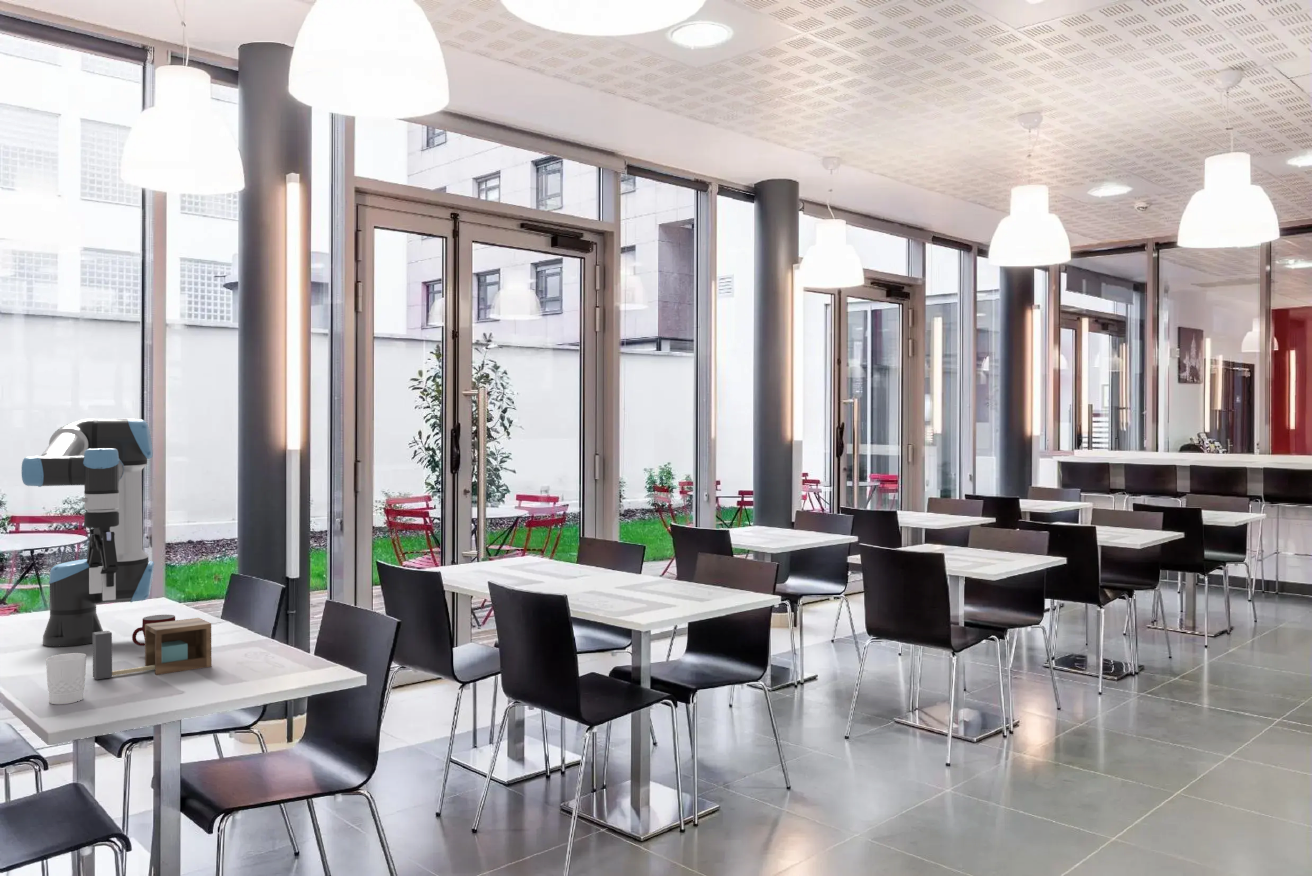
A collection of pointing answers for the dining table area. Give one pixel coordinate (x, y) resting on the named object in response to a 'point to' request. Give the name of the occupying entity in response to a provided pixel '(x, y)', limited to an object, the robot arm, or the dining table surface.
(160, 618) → the mug
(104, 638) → the double-ended block stick
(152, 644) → the shelf
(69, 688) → the white cup
